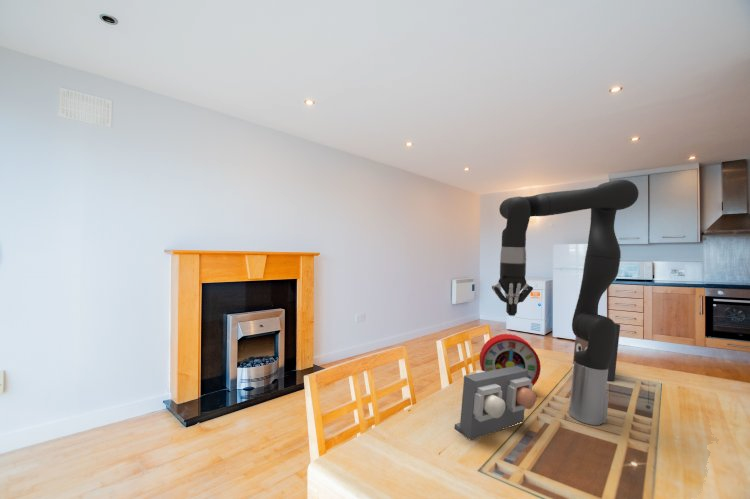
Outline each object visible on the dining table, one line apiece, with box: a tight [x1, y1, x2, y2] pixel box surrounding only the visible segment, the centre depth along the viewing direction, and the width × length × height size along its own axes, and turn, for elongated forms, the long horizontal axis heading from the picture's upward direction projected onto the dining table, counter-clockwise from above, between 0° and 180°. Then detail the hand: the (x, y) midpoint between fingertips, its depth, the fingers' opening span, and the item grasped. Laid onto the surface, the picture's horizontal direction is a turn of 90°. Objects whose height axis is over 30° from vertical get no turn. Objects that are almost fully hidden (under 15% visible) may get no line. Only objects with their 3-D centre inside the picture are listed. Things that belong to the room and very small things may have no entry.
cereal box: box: [572, 322, 621, 382], centre depth 149 cm, size 17×5×24 cm, turn 10°
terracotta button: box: [516, 386, 537, 410], centre depth 98 cm, size 4×5×5 cm
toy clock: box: [479, 333, 542, 387], centre depth 125 cm, size 20×6×20 cm, turn 80°
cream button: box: [483, 394, 505, 418], centre depth 92 cm, size 4×5×5 cm
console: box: [454, 366, 534, 441], centre depth 99 cm, size 22×8×16 cm, turn 120°
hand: (511, 315), depth 109 cm, fingers closed
